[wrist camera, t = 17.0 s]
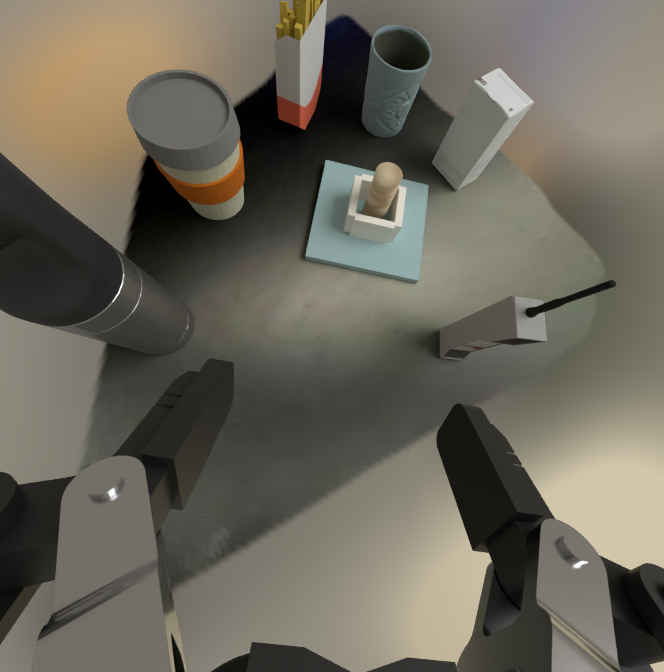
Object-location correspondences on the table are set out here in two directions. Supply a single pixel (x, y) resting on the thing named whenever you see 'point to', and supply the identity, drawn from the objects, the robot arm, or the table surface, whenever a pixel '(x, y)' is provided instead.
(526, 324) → the vintage mobile phone
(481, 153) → the skincare box
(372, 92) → the blue embossed cup
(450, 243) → the table surface
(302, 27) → the french fries container
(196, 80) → the reusable coffee cup
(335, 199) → the sleeve holder
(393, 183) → the maple peg
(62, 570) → the robot arm
